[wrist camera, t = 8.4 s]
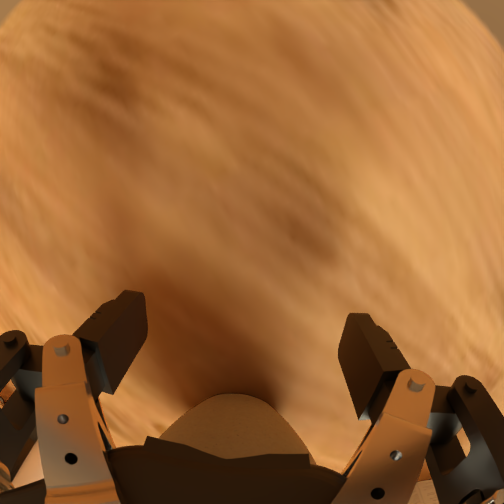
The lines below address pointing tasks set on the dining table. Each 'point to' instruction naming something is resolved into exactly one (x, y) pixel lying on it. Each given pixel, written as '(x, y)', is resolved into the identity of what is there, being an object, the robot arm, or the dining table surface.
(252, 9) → the dining table surface
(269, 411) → the bowl
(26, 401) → the robot arm
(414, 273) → the dining table surface
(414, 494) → the skincare box
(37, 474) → the coffee press
